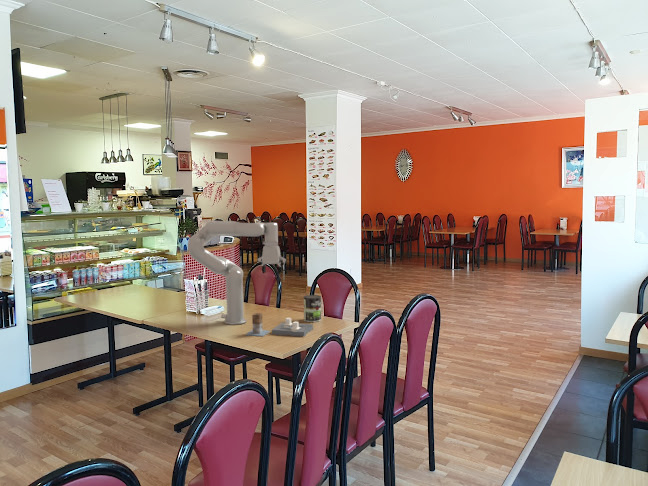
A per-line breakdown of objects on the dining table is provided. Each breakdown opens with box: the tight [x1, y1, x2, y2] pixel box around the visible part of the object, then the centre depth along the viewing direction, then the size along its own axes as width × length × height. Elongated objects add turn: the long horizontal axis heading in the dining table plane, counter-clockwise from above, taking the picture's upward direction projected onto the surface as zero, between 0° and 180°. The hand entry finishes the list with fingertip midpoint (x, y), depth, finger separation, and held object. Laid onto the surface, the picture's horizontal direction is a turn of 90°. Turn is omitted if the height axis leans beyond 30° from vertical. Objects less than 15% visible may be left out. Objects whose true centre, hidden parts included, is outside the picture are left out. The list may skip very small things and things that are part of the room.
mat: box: [244, 329, 271, 337], centre depth 272 cm, size 10×10×1 cm
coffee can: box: [303, 294, 322, 323], centre depth 299 cm, size 10×10×14 cm
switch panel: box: [271, 322, 314, 337], centre depth 275 cm, size 18×16×3 cm
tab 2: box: [291, 321, 301, 330], centre depth 270 cm, size 4×4×4 cm
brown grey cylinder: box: [251, 312, 264, 334], centre depth 271 cm, size 4×4×10 cm
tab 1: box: [284, 317, 293, 326], centre depth 278 cm, size 4×4×4 cm
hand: (271, 273), depth 295 cm, fingers open, 9 cm apart
